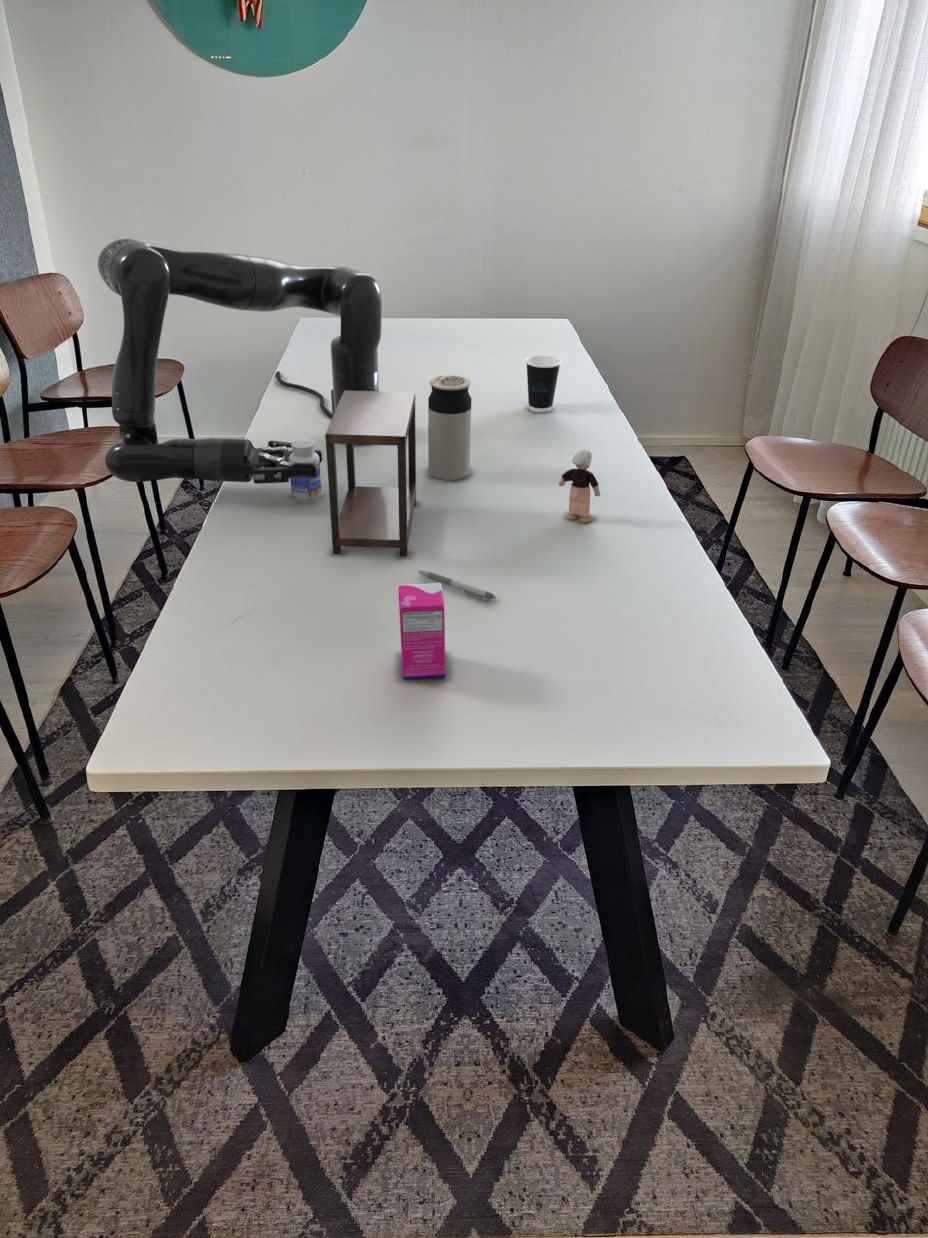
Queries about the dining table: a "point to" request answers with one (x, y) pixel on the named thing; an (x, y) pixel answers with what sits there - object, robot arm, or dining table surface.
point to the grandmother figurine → (580, 486)
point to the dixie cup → (542, 381)
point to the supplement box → (422, 631)
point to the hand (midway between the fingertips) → (318, 463)
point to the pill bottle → (305, 485)
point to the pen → (459, 585)
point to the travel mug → (449, 427)
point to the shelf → (372, 509)
